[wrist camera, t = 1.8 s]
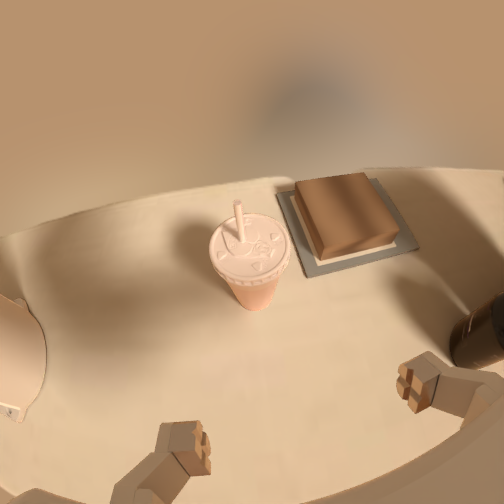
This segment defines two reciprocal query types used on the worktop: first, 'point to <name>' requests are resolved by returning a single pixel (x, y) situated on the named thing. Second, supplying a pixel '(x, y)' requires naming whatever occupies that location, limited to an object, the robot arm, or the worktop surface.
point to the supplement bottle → (480, 336)
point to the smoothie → (250, 256)
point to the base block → (344, 215)
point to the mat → (316, 267)
